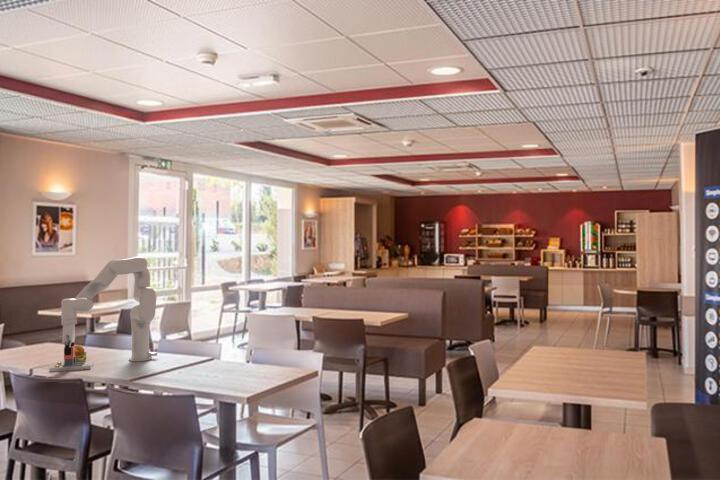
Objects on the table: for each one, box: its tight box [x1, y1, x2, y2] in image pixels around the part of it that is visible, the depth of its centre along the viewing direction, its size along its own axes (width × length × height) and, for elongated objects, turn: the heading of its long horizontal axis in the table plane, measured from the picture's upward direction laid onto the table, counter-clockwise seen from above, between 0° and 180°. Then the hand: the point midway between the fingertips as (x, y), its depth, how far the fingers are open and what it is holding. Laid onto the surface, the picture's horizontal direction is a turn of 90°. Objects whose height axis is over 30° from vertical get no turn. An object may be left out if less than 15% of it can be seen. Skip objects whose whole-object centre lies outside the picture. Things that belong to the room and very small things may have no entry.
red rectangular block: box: [63, 345, 76, 359], centre depth 328 cm, size 4×4×6 cm
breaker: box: [63, 358, 74, 365], centre depth 329 cm, size 4×3×4 cm
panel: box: [49, 359, 95, 373], centre depth 332 cm, size 20×12×3 cm, turn 106°
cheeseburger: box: [74, 345, 88, 361], centre depth 351 cm, size 10×11×10 cm
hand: (69, 353), depth 329 cm, fingers open, 9 cm apart
